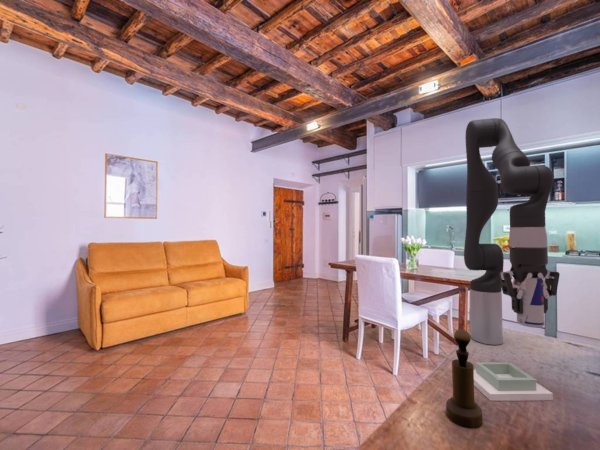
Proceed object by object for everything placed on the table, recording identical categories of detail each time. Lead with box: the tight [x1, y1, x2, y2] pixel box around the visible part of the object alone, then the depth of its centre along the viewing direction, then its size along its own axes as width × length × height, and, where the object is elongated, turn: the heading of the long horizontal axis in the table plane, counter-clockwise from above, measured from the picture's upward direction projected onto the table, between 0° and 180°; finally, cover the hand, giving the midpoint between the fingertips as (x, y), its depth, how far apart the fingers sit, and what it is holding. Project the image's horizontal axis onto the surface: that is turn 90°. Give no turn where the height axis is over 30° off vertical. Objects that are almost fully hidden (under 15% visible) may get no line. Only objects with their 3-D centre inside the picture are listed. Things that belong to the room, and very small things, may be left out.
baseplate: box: [474, 361, 554, 402], centre depth 70 cm, size 11×14×4 cm
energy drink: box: [516, 278, 545, 329], centre depth 72 cm, size 5×5×12 cm
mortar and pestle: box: [445, 329, 483, 429], centre depth 59 cm, size 7×6×18 cm
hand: (529, 312), depth 72 cm, fingers closed on energy drink, 5 cm apart
